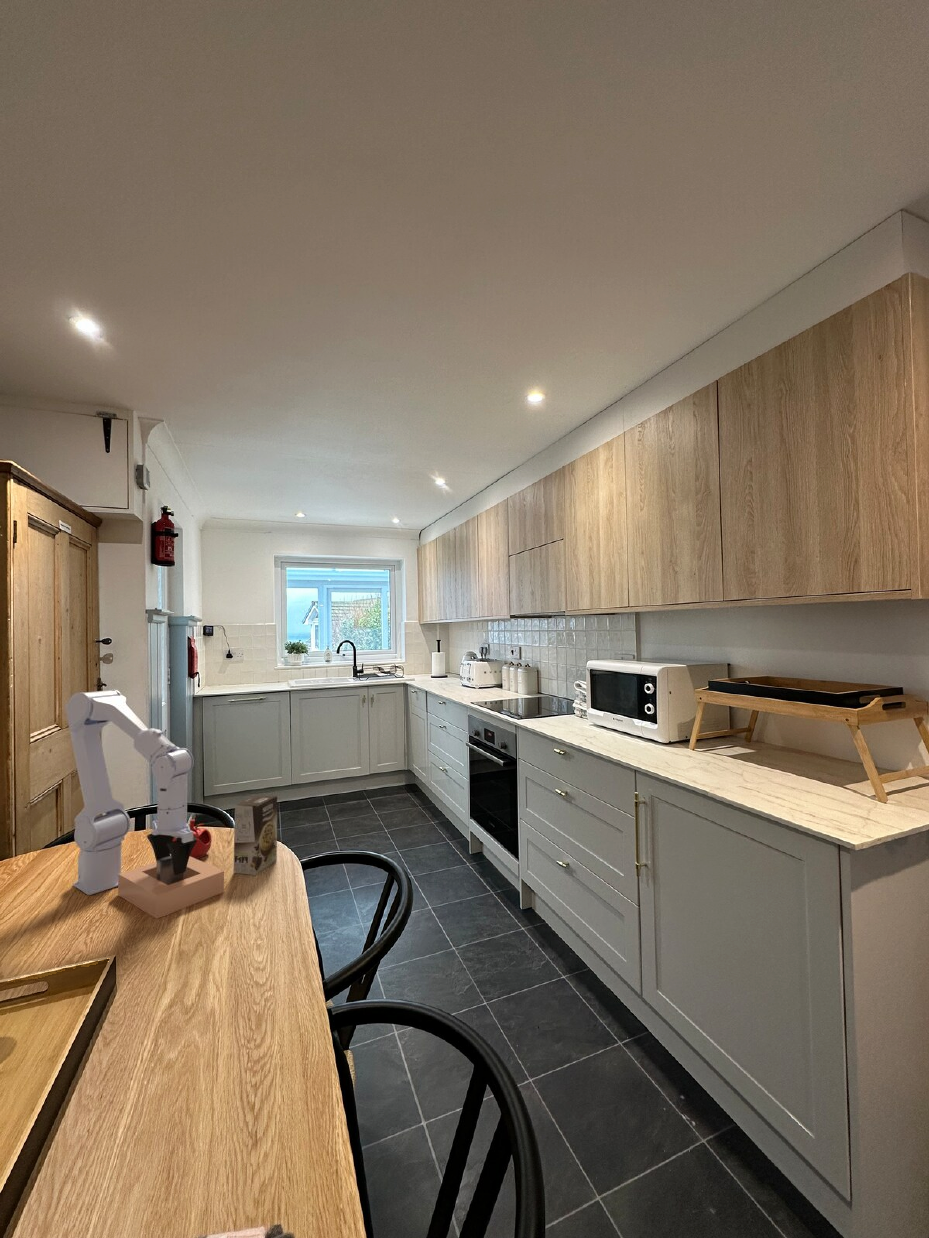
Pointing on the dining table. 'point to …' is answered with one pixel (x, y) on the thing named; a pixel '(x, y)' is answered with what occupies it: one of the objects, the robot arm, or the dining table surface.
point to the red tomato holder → (199, 840)
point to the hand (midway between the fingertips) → (171, 868)
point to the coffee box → (255, 834)
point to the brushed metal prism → (167, 871)
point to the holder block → (170, 887)
